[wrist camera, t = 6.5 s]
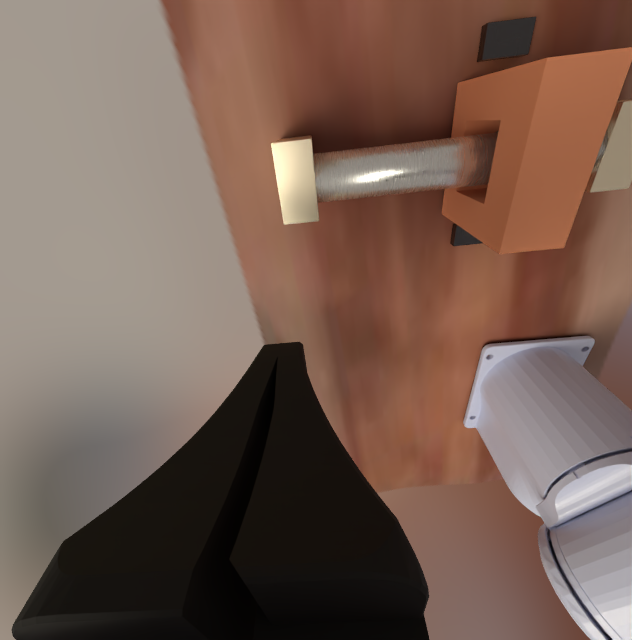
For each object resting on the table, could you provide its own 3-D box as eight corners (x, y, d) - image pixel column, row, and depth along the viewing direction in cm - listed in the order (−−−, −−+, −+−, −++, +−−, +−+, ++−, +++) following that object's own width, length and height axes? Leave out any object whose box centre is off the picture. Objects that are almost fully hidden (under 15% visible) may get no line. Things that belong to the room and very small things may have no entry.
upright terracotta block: (512, 76, 14) (637, 46, 9) (485, 209, 17) (564, 247, 12) (458, 82, 14) (547, 57, 9) (441, 213, 17) (499, 254, 12)
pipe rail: (612, 9, 13) (727, -35, 9) (542, 234, 18) (597, 260, 15) (268, 54, 14) (253, 30, 10) (297, 258, 19) (294, 289, 15)
